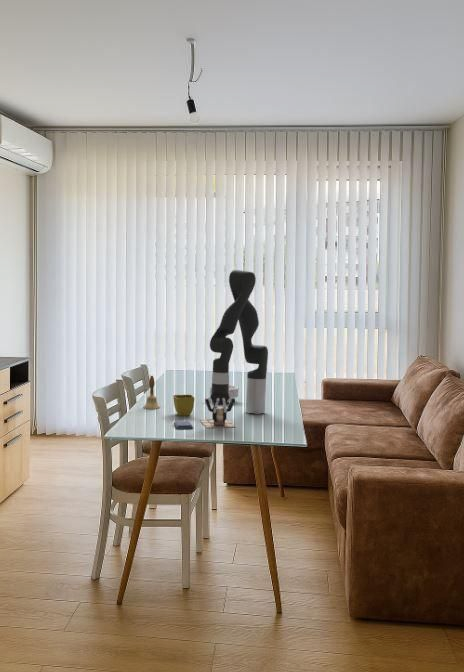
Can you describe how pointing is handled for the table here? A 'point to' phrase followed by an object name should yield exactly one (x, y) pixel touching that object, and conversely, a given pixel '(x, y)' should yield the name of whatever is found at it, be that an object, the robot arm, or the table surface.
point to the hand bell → (151, 397)
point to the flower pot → (183, 404)
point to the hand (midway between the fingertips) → (219, 420)
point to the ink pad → (183, 425)
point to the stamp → (219, 417)
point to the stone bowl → (230, 391)
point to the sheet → (210, 424)
